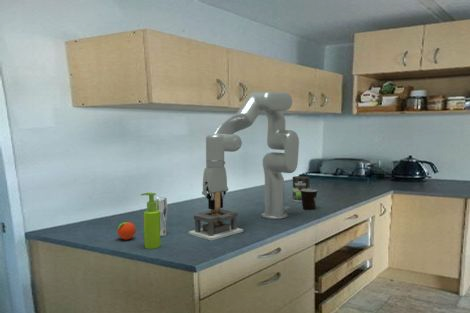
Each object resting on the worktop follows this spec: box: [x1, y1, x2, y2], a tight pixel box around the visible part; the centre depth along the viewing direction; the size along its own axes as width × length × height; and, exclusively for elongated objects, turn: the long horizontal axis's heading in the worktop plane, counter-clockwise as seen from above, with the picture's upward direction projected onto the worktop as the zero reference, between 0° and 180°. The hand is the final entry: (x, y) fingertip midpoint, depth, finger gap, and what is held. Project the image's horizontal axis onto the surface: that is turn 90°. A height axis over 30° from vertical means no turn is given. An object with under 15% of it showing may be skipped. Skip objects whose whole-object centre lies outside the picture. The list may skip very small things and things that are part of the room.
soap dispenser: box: [140, 192, 162, 250], centre depth 143 cm, size 6×7×20 cm
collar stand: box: [188, 208, 244, 241], centre depth 161 cm, size 18×14×8 cm
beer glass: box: [154, 197, 168, 237], centre depth 158 cm, size 7×7×15 cm
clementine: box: [117, 221, 137, 240], centre depth 152 cm, size 8×7×7 cm
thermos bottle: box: [210, 191, 222, 226], centre depth 160 cm, size 4×4×18 cm
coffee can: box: [291, 175, 311, 203], centre depth 232 cm, size 10×10×14 cm
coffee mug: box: [301, 188, 318, 211], centre depth 206 cm, size 12×9×10 cm
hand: (215, 207), depth 160 cm, fingers closed on thermos bottle, 4 cm apart
